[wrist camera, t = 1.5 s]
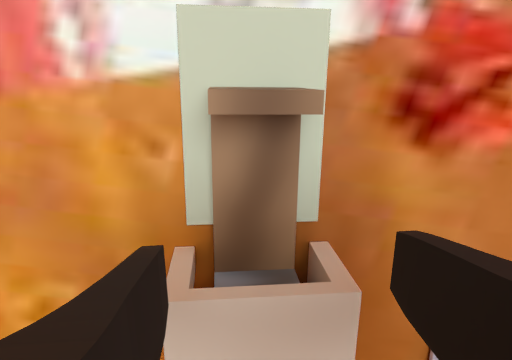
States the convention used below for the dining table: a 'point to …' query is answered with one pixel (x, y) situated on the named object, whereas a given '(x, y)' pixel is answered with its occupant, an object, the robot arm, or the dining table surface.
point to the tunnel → (263, 314)
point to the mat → (248, 84)
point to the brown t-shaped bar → (256, 181)
